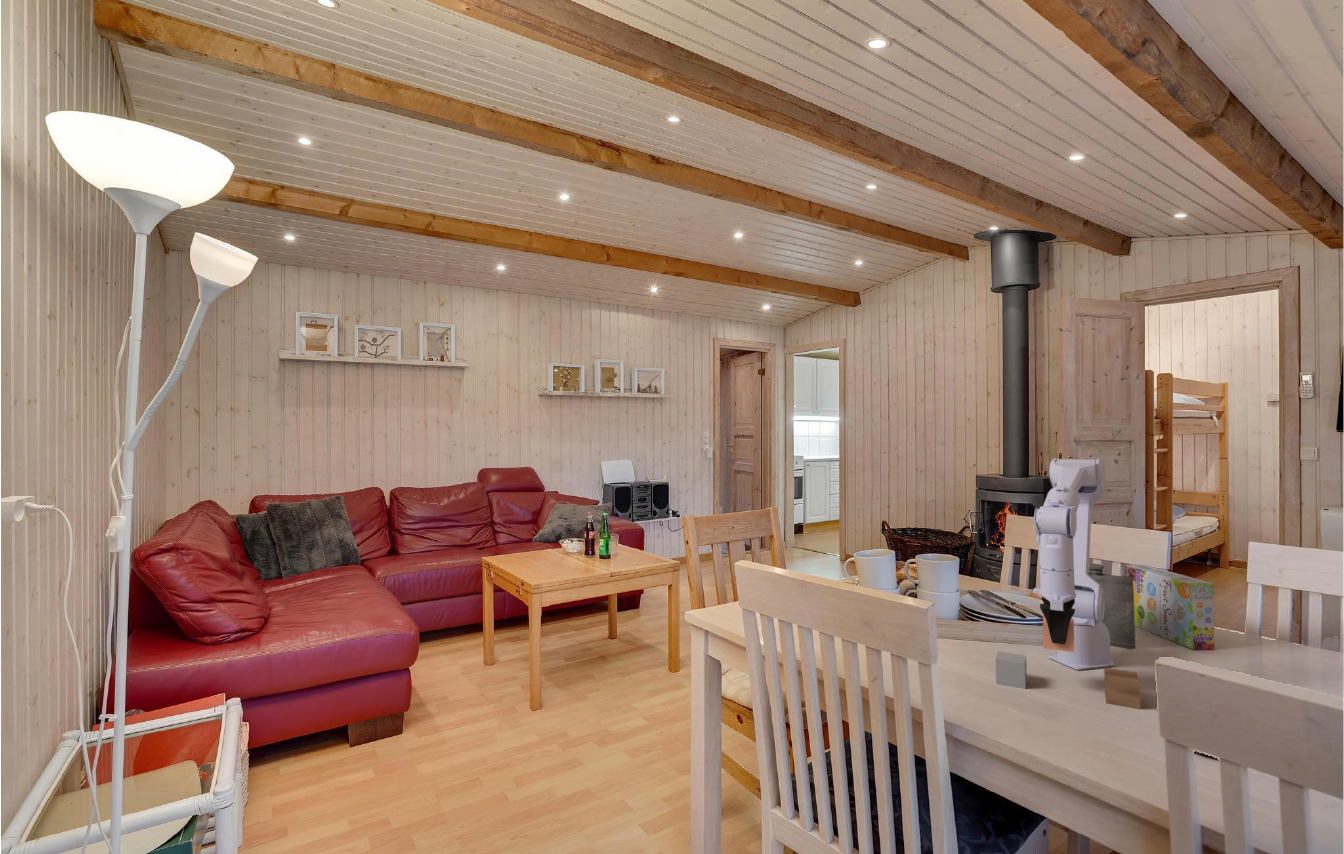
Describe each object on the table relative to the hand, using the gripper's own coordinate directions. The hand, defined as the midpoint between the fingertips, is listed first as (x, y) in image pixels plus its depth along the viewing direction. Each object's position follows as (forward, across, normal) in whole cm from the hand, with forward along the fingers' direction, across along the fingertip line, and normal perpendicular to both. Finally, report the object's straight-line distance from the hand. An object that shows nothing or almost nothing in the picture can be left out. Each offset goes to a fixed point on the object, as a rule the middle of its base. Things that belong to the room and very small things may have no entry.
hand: (1058, 638), depth 120 cm
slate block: (+10, +1, -8) cm, 13 cm away
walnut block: (+10, +1, +10) cm, 14 cm away
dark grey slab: (+10, -35, +7) cm, 37 cm away
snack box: (+10, -48, +21) cm, 53 cm away
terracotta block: (+1, 0, 0) cm, 1 cm away
